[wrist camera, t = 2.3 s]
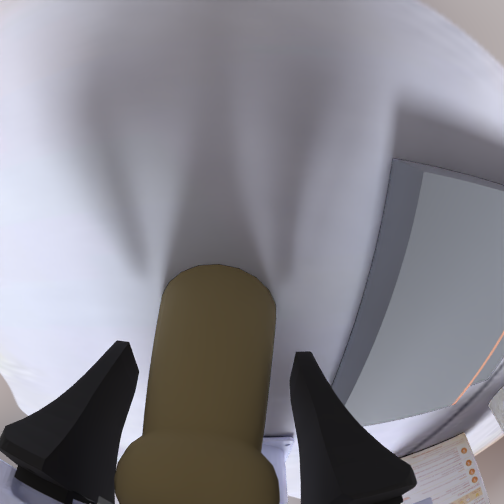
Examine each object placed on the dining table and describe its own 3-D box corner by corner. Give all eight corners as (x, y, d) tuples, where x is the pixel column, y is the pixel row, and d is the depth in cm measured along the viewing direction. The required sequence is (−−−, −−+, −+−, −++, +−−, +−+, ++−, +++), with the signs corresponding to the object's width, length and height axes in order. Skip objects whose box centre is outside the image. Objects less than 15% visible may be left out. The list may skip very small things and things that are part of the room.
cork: (138, 297, 14) (58, 497, 4) (234, 241, 13) (208, 528, 3) (206, 365, 17) (186, 540, 7) (296, 328, 15) (327, 535, 5)
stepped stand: (482, 371, 19) (493, 389, 17) (325, 402, 19) (330, 430, 16) (558, 205, 11) (580, 219, 9) (393, 158, 11) (423, 171, 9)
